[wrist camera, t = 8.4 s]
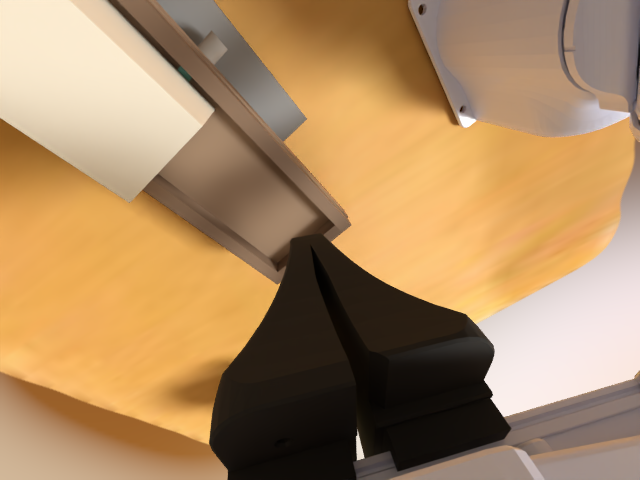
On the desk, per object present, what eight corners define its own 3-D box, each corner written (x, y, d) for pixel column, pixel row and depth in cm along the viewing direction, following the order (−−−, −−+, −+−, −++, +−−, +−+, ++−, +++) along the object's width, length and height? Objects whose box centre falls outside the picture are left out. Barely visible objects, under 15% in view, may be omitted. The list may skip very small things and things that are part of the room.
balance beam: (354, 179, 21) (376, 204, 18) (255, 263, 24) (256, 301, 20) (-59, -344, 9) (-294, -652, 5) (-186, -54, 11) (-413, -114, 7)
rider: (215, 109, 14) (202, 126, 10) (160, 167, 15) (129, 202, 11) (88, -21, 11) (0, -65, 7) (27, 65, 11) (-79, 66, 8)
